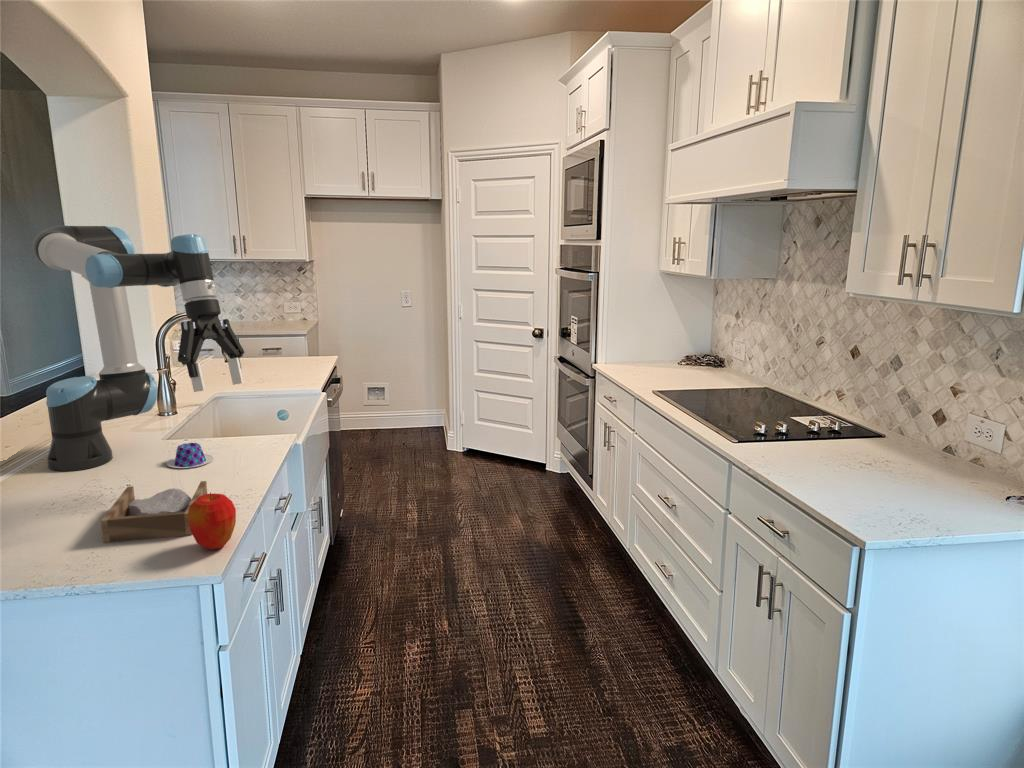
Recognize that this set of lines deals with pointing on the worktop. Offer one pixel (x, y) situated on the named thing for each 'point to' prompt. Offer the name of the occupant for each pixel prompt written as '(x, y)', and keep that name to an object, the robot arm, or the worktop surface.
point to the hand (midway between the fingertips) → (219, 387)
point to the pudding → (189, 456)
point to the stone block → (161, 503)
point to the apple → (212, 520)
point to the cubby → (144, 520)
